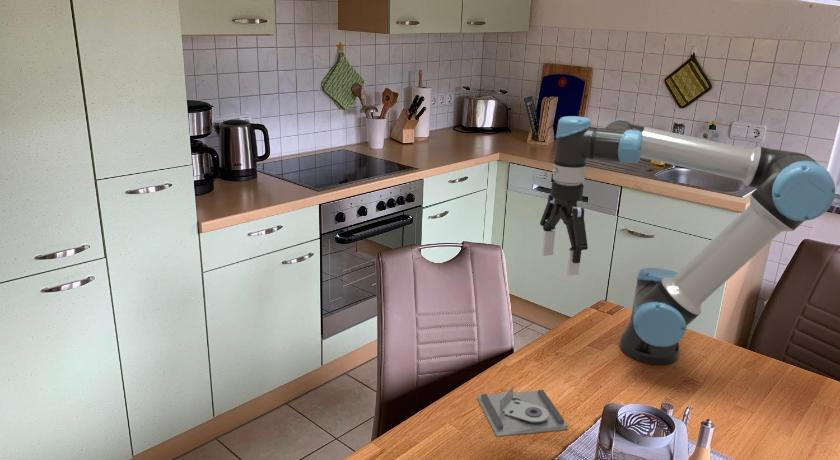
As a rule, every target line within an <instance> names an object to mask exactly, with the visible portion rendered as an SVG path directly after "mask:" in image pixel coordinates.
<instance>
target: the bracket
mask: <svg viewBox="0 0 840 460" xmlns="http://www.w3.org/2000/svg"><path fill="white" fill-rule="evenodd" d="M513 392H514V386H511V387H510V388H508V390H507V391H505V392H504V393H505V394H504V396H503V397H502V398H501V399H500V412H501V411H502V412H504V414H505V415H508V416H512V417H515V418H518V419H522V420H525V421H529V422H542V421H545V420H546V419H547V418H548V417H549V412H548V411H547V410H546V409H545V408H543V407H541V406H538V405H534V404H530V403H527V402H523V401H519V400H515V401H514V400H512V398H513ZM510 393H511V394H510ZM515 403H519V404H515ZM510 411H513V413H512V414H510V413H509V412H510ZM533 413H534V414H533Z"/></svg>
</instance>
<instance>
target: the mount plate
mask: <svg viewBox="0 0 840 460" xmlns="http://www.w3.org/2000/svg"><path fill="white" fill-rule="evenodd" d="M505 393H506V392H502V393H491V394H489V393H488V394H487V393H481V394H478V395H477V401H478V402H479V406H480V407H481V408H482V410H483V413H484V415H485V416H486V418H487V420H488V422H489V424H490V426H491V428H492V430H493V432H494V434H495V436H496V437H504V436H514V435H525V434H536V433H548V432H557V431H567V430H568V427H569V426H568V424H567V422H566V420H565V419H564V418H563V416H562V415H561V413H560V412H559V410H558V409H557V408H556V407H555V405H554V403H553V402H552V400H551V399H550V398H549V396H548V394H547V393H546V392H545V390H544V389H538V390H529V391H527V390H526V391H515V392H514V391H513V398H512V400H514V401H515V400H519V401H523V402H527V403H530V404H534V405H538V406H541V407H543V408H545V409H546V410H547V411H548V412H549V417H548V418H547V419H546V420H545V421H542V422H529V421H525V420H522V419H518V418H515V417H512V416H508V415H505V414H504V412H502V411H501V412H500V399H501V398H502V397H503V396H504V394H505ZM510 394H511V392H510ZM515 404H519V403H515ZM509 413H510V414H512V413H513V411H510V412H509ZM533 414H534V413H533Z"/></svg>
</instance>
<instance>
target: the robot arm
mask: <svg viewBox="0 0 840 460" xmlns="http://www.w3.org/2000/svg"><path fill="white" fill-rule="evenodd" d="M557 122H558V123H557V129H556V135H555V143H554V157H553V159H554V160H553V168H552V170H551V171H552V182H551V190H550V194H549V195H548V196H547V197H548V198H547V202H546V205H545V209H544V211H543V213H542V217H541V220H540V222H539V224H540V226H542V229H543V239H542V240H543V241H542V250H541V251H542V253H541V255H542V256H543V257H544V256H547V257H549V256H553V255H554V247H555V237H556V226H557V225H558V223H559V222H560V220H562V222H563V225H565V227H566V231H567V234H568V238H569V239H568V240H569V242H570V246H571V247H569V252H568V259H567V260H568V261H567V270H566V275H568V276H575V275H579V273H580V263H581V256H582V251H587V250H588V249H589V248H588V247H589V246H588V240H587V239H588V238H587V230H586V223H585V208H584V207H578V201H580V200H582V199H583V194H584V186H585V185H584V182H585V180H586V179H585V177H586V170H587V169H586V168H587V160H593V161H594V160H595V161H604V162H612V163H613V162H614V163H621V164H637V163H639V161H640V159H641V158H642V159H645V160H650V161H655V162H659V163H664V164H669V165H673V166H677V167H680V168H681V167H682V168H687V169H690V170H694V171H699V172H704V173H706V174H712V175H717V176H721V177H724V178H728V179H729V178H730V179H734V180H738V181H741V182H742V183H743V185H744V186H746V187H750V188H754V189H755V190H753V192H752V193H751V194H750V195H749V200H750V201H749V205H748V206H746V208H745V209H744V210H743V211H742V212H741V213H740V214H738V216H736V218H735V219H733V220H732V221H731V223H729V224H728V225H727V226H726V227H725V228H724V229H723V230H722V231H721V232H720V233H719V234H718V235H717V236H715V237H714V238H713V239H712V240H711V241H710V242H709V243H708V244H707V245H706V246H705V247H704V248H703V249H702V250H701V251H699V253H698V254H697V255H695V256H694V257H693V258H692V259H691V260H690V261H689V262H688V263H687V264H686V265H685V266H684V267H683V268H682V269H680V271H678V272H676V271H673V270H669V269H664V268H658V267H657V268H656V267H644V268H642V269H640V270H639V272H638V274H637V277H636V286H635V292H634V298H633V304H632V310H631V316H630V320H629V322H628V324H627V326H626V327H625V329H624V332H623V333H622V334H621V336H620V339H619V348H620V350H621V351H622V352H623V354H625V355H626V356H628V357H629V358H630V359H633V360H636V361H638V362H641V363H645V364H650V365H659V366H662V365H669V364H673V363H675V362H676V361H677V360H678V359H679V354H680V344H679V342H681V340H682V339H683V338H684V336H685V334H686V331H687V326H689V324H690V323H692V322H693V321H694V320H695V319H696V318H698V316H699V315H701V314H702V304H703V303H704V302H705V301H706V300H707V299H708V298H709V297H711V296H712V295H713V294H714V293H715V292H716V291H717V290H719V288H720V287H722V285H724V284H725V283H726V282H727V281H728V280H730V278H732V277H733V276H734V275H735V274H736V273H738V271H739V270H741V269H742V267H744V266H745V265H746V264H747V263H748V262H749V261H751V260H752V259H753V258H754V257H755V256H756V255H757V254H758V253H759V252H761V251H762V250H763V249H764V248H765V247H766V246H767V245H768V244H770V243H771V241H773V240H774V239H775V238H776V237H777V236H778V235H780V233H782V232H794V231H795V230H796V229H797V228H799V226H801V225H802V224H803V223H804V222H806V221H812V220H815V219H817V218H819V217H821V216H823V215H824V214H826V212H827V211H828V210H829V209H830V208H831V206H832V205H833V202H834V201H835V196H836V184H835V181H834V180H833V176H832V175H831V174H830V172H829V171H828V170H827V168H825V167H824V166H822V165H820V164H819V163H818V162H817V161H816V160H815V159H814V158H812V157H811V156H809V155H808V154H804V153H802V152H796V151H795V152H794V151H790V150H789V151H788V150H781V149H774V148H770V147H769V148H768V147H763V146H756V147H754V148H746V147H743V146H737V145H734V144H733V145H732V144H729V143H723V142H719V141H715V140H710V139H705V138H699V137H695V136H691V135H686V134H680V133H676V132H672V131H667V130H661V129H657V128H653V127H648V126H642V125H638V124H633V123H631V122H629V121H627V120H626V119H617V120H613V121H611V122H610V123H609V124H607V126H606V127H604V128H603V127H596V126H595V127H594V126H592V124H591V119H590V118H588V117H586V116H577V115H574V116H573V115H571V116H570V115H568V116H562V117H560V118H559V120H558V121H557Z"/></svg>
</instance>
